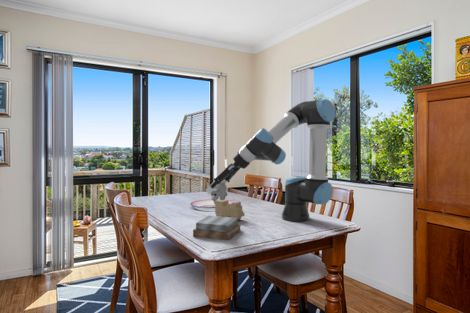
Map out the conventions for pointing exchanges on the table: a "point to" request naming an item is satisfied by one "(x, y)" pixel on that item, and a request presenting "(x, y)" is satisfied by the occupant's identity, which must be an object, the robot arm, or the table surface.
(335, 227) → the table surface
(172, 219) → the table surface
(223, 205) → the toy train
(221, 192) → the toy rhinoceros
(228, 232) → the brick stand
